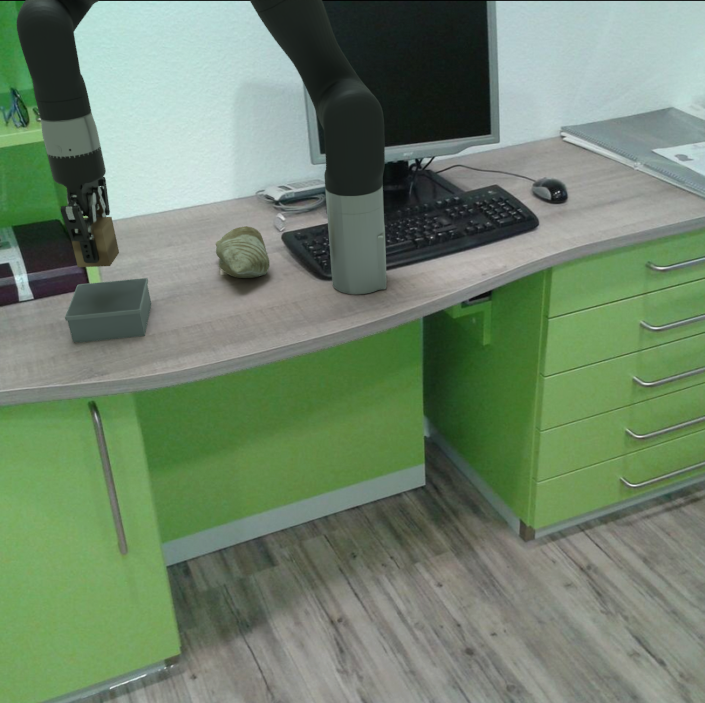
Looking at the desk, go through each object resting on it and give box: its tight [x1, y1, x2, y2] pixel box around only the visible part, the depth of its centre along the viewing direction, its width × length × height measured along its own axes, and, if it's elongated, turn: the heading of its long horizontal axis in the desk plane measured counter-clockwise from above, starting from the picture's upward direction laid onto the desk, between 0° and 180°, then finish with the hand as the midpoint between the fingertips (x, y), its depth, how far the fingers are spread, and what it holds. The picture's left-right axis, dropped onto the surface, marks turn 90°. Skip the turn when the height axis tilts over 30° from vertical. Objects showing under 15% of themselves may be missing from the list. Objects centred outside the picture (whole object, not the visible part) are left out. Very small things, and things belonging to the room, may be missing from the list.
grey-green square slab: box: [64, 277, 152, 343], centre depth 133 cm, size 11×11×5 cm
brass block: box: [71, 216, 120, 268], centre depth 127 cm, size 5×5×6 cm
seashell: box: [215, 226, 270, 279], centre depth 146 cm, size 14×9×10 cm
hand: (97, 253), depth 128 cm, fingers closed on brass block, 5 cm apart
